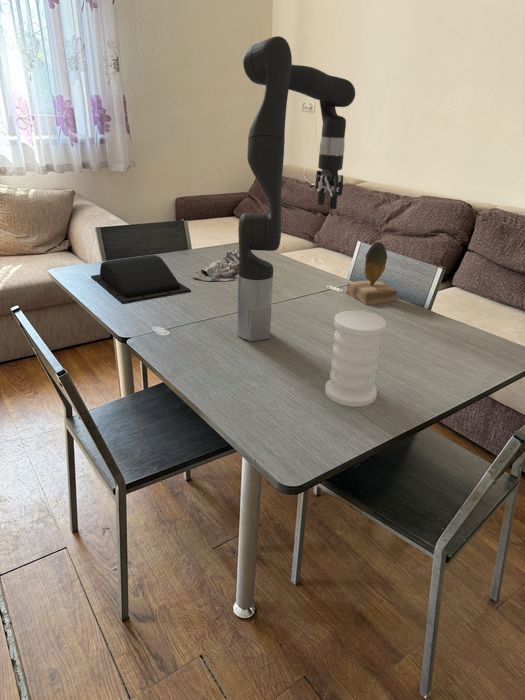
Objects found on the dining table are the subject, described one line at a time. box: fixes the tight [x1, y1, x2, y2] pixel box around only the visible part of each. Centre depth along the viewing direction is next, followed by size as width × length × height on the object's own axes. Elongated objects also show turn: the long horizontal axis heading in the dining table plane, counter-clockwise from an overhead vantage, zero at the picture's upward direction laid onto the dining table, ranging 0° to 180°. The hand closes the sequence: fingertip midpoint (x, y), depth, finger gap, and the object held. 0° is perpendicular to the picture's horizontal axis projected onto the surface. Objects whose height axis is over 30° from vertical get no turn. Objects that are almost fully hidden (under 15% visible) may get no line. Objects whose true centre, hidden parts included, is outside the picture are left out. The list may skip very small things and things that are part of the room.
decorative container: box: [324, 310, 387, 408], centre depth 112 cm, size 12×12×18 cm
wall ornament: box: [190, 249, 239, 282], centre depth 193 cm, size 19×10×30 cm
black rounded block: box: [90, 254, 192, 305], centre depth 176 cm, size 24×8×30 cm
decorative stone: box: [363, 241, 388, 285], centre depth 170 cm, size 10×6×15 cm, turn 130°
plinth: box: [346, 279, 398, 305], centre depth 175 cm, size 12×12×4 cm
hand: (326, 206), depth 165 cm, fingers open, 8 cm apart
